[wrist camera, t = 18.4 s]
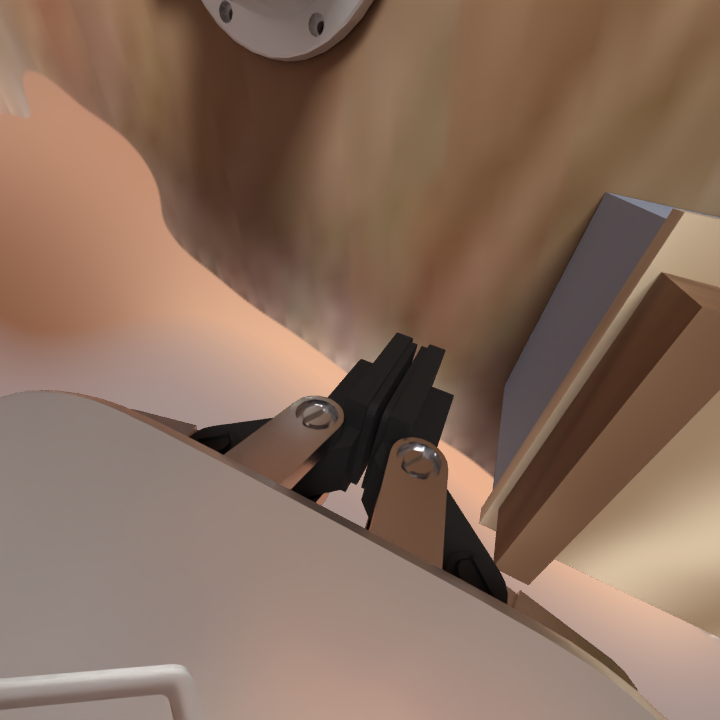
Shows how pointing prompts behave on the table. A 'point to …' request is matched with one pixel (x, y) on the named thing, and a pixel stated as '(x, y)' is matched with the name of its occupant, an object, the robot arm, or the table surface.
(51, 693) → the robot arm
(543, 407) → the toolbox
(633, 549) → the lid
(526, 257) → the table surface
